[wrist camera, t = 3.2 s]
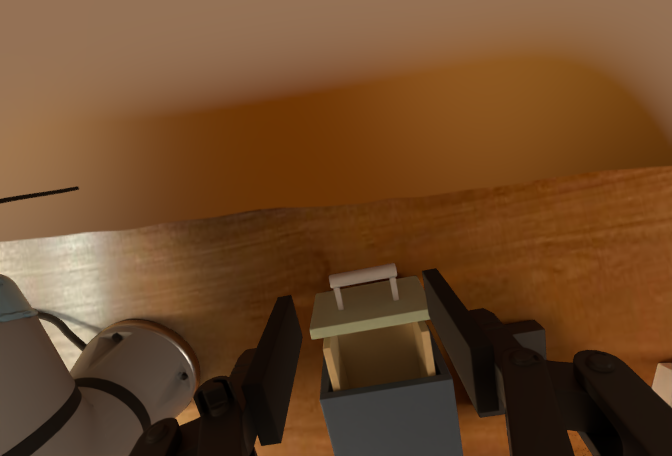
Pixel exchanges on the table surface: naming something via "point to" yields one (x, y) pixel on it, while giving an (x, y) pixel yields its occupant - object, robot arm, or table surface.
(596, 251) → the table surface
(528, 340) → the button housing
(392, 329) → the drawer
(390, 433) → the cabinet
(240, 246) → the table surface
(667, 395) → the figurine
